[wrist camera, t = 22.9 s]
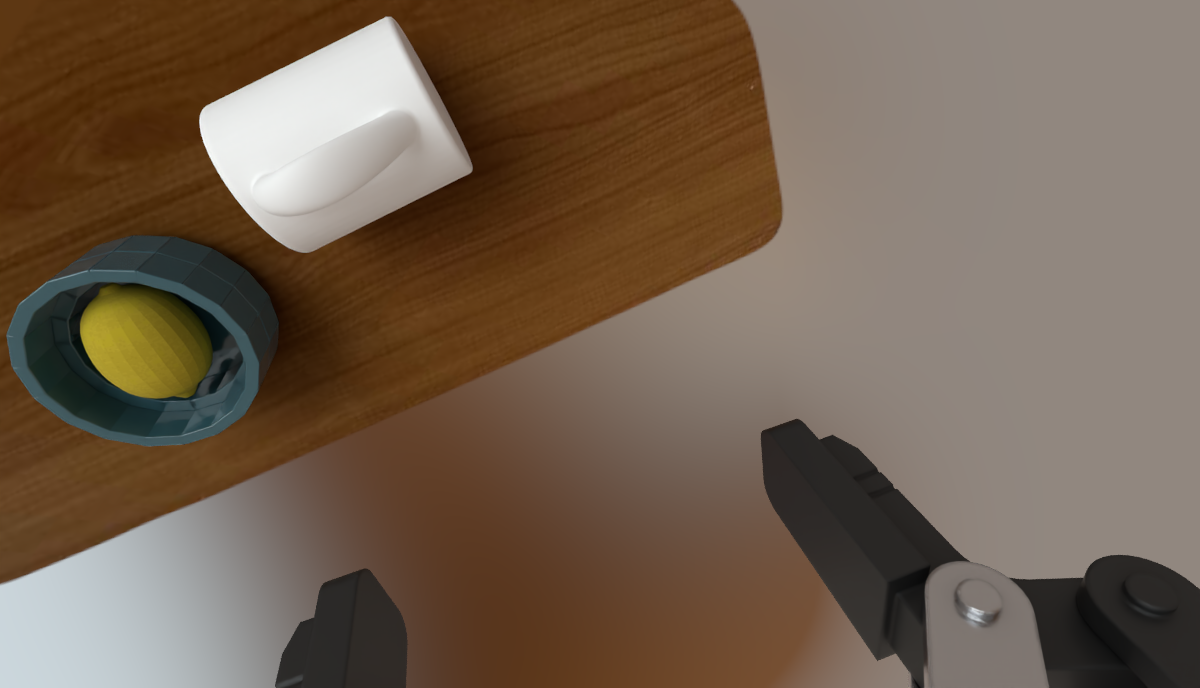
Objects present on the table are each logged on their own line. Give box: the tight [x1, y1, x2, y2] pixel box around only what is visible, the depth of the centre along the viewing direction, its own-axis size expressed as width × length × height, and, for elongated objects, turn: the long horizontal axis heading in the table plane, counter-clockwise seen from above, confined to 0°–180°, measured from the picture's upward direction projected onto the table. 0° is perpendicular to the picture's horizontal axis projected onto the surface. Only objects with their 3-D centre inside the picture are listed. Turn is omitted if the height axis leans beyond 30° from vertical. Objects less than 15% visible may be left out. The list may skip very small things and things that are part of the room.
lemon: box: [80, 282, 213, 399], centre depth 33 cm, size 6×6×8 cm
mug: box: [200, 17, 473, 253], centre depth 28 cm, size 8×10×12 cm
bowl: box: [7, 235, 279, 446], centre depth 34 cm, size 11×12×6 cm
